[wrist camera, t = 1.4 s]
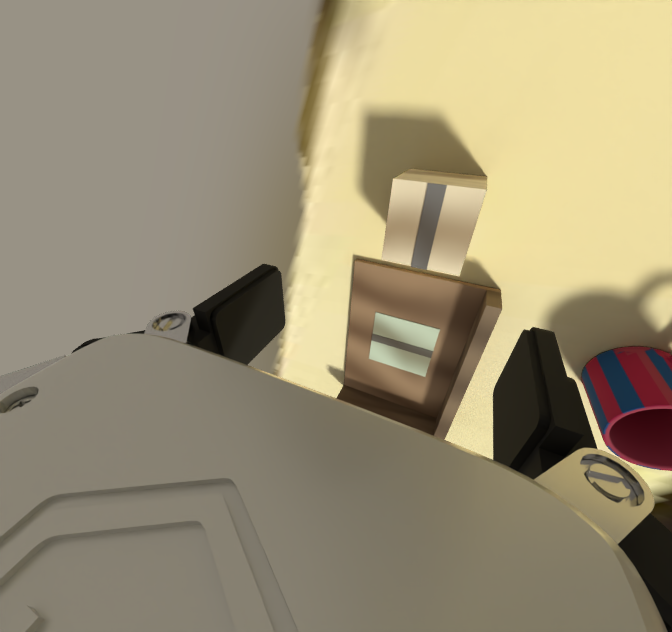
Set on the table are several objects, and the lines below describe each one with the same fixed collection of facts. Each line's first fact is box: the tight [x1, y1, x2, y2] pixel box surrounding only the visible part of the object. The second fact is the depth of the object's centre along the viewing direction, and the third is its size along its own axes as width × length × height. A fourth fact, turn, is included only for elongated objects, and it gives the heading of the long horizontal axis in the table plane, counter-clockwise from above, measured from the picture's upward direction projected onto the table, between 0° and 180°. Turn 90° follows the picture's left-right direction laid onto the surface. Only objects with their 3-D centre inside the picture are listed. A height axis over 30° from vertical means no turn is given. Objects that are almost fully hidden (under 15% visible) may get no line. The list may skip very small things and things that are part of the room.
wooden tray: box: [336, 259, 502, 440], centre depth 33 cm, size 20×14×4 cm
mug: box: [582, 346, 672, 471], centre depth 22 cm, size 7×10×7 cm
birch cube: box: [381, 169, 487, 276], centre depth 23 cm, size 6×6×6 cm
